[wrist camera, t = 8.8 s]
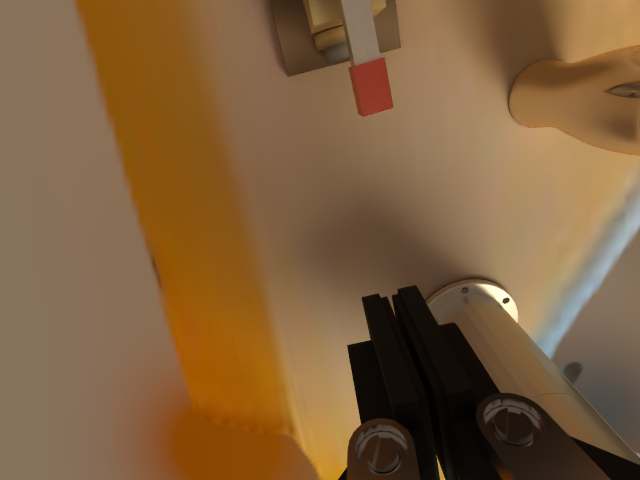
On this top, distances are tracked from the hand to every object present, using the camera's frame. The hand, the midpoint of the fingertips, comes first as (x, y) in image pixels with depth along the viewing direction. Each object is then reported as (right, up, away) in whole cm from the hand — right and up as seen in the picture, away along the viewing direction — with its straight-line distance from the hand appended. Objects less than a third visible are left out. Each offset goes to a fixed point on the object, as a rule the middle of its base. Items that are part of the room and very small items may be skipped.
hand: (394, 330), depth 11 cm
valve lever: (0, +16, +12) cm, 21 cm away
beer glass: (+19, +17, +24) cm, 34 cm away
